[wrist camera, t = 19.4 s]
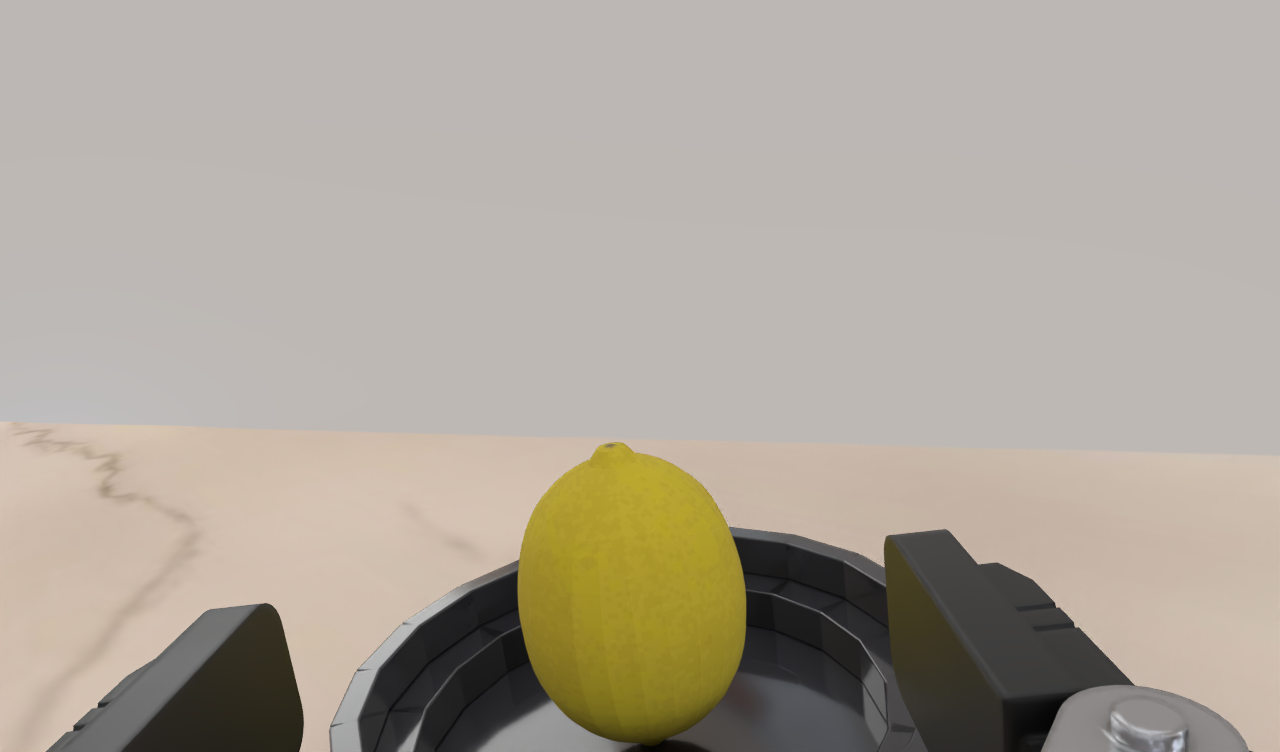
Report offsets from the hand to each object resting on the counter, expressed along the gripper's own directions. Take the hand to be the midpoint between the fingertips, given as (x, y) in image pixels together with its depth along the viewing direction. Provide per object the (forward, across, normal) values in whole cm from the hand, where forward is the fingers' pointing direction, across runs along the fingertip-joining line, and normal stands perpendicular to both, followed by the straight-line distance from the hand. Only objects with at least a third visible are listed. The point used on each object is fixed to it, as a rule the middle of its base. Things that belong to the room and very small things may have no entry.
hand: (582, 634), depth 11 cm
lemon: (+9, 0, +8) cm, 12 cm away
